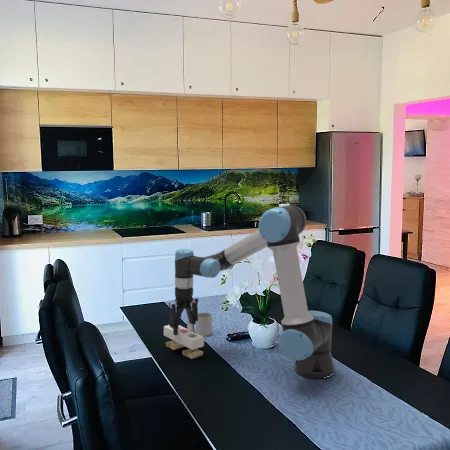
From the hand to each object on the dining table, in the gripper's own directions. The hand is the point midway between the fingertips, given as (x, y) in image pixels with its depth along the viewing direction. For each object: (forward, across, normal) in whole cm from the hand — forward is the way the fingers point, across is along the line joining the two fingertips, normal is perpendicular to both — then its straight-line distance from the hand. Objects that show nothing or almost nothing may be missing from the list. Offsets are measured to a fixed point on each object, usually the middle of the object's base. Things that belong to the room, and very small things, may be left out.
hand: (183, 340), depth 206 cm
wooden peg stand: (+5, 0, 0) cm, 5 cm away
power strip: (0, 0, 0) cm, 0 cm away
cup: (+5, -20, -11) cm, 23 cm away
